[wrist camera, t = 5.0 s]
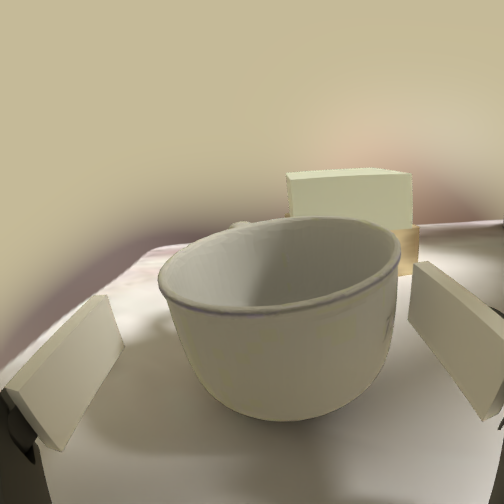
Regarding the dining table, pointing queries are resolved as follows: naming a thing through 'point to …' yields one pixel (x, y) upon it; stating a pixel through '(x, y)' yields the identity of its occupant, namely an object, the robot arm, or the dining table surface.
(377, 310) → the teacup
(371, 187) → the tower top
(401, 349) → the dining table surface
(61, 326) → the robot arm
